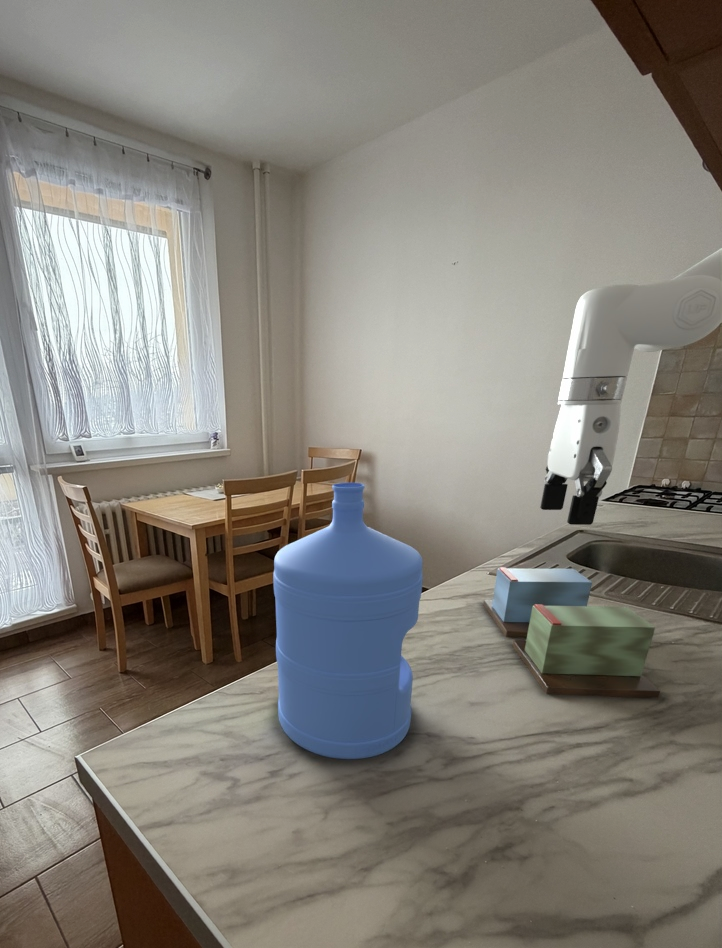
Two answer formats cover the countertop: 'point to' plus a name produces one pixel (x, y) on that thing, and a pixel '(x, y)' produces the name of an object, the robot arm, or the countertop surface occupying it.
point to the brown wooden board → (588, 681)
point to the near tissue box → (588, 640)
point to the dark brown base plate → (507, 623)
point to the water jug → (345, 634)
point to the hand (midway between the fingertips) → (564, 516)
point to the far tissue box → (537, 591)
